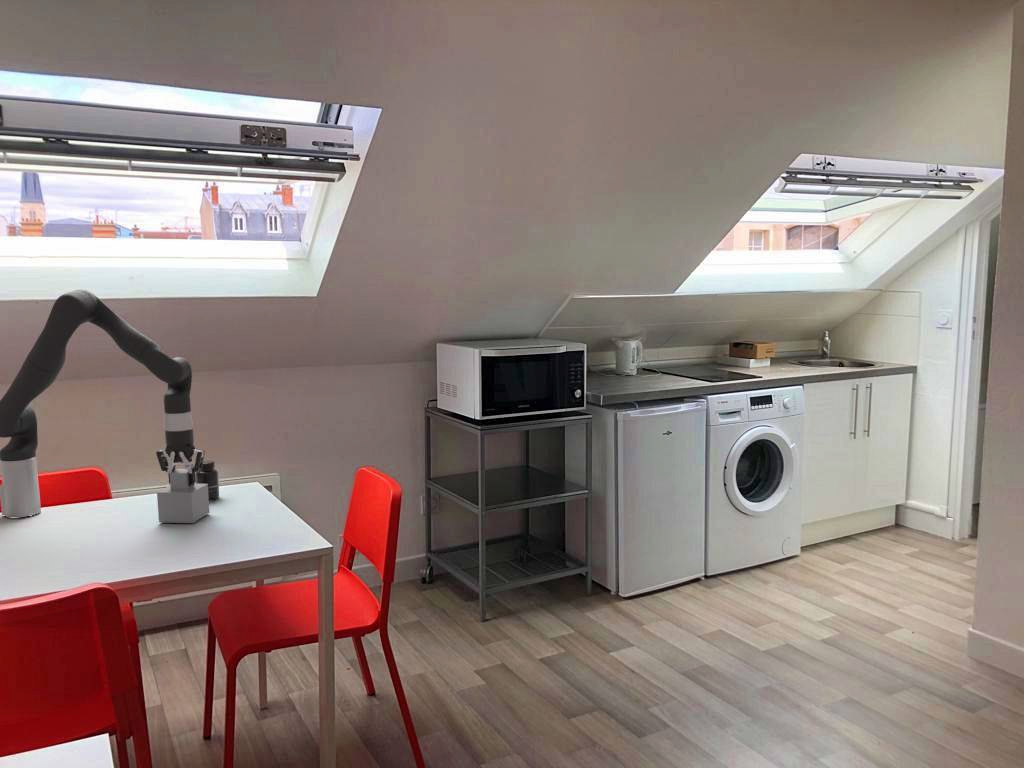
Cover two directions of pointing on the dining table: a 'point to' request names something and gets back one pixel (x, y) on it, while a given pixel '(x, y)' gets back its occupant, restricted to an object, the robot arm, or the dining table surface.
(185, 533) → the dining table surface
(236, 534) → the dining table surface
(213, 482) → the supplement bottle
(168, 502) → the stepped grey block
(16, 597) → the dining table surface
